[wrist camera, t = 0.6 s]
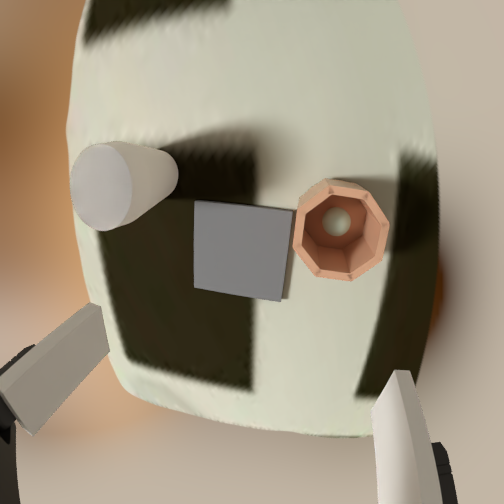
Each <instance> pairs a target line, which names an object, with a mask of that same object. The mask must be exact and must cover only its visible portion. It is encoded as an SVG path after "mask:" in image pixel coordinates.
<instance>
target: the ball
mask: <svg viewBox="0 0 504 504" xmlns="http://www.w3.org/2000/svg"><path fill="white" fill-rule="evenodd" d="M322 225H323V228H324V229H325V231H326V232H327V233H328V234H330V235H332V236H341V235H343V234H345V233H346V232H347V231H348V230H349V228H350V225H351V219H350V216H349V214H348V213H347V211H345V210H344V209H342V208H340V207H333V208H330V209H328V210H327V211H326V212H325V213H324V215H323V218H322Z"/></svg>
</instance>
